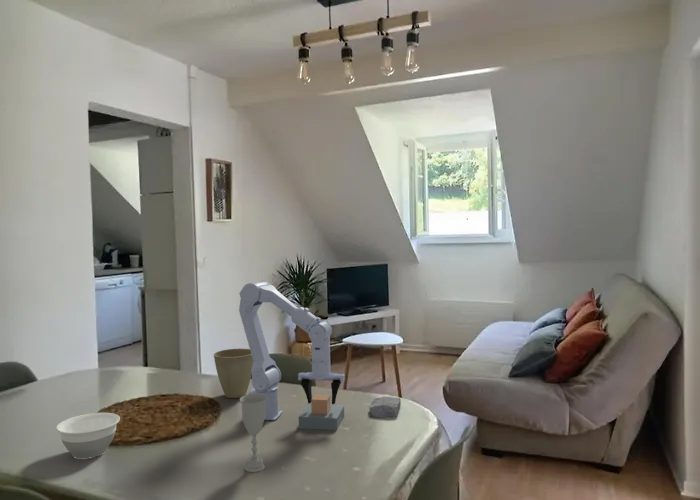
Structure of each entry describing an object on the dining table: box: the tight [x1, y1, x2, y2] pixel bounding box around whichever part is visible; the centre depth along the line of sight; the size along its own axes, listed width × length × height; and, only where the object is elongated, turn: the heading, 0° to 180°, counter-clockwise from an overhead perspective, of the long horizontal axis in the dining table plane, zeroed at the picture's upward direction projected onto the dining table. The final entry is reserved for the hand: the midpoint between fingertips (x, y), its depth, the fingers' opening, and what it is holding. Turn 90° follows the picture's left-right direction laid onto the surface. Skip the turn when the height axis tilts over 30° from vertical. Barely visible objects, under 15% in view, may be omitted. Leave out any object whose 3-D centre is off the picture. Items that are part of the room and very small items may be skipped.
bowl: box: [55, 412, 121, 458], centre depth 148 cm, size 16×16×8 cm
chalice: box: [239, 393, 267, 473], centre depth 137 cm, size 7×7×18 cm
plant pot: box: [213, 348, 254, 399], centre depth 198 cm, size 15×15×16 cm
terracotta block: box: [310, 394, 332, 414], centre depth 168 cm, size 5×5×4 cm
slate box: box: [298, 403, 345, 431], centre depth 169 cm, size 12×12×4 cm
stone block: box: [368, 396, 402, 418], centre depth 178 cm, size 12×5×10 cm
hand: (321, 403), depth 169 cm, fingers open, 7 cm apart
